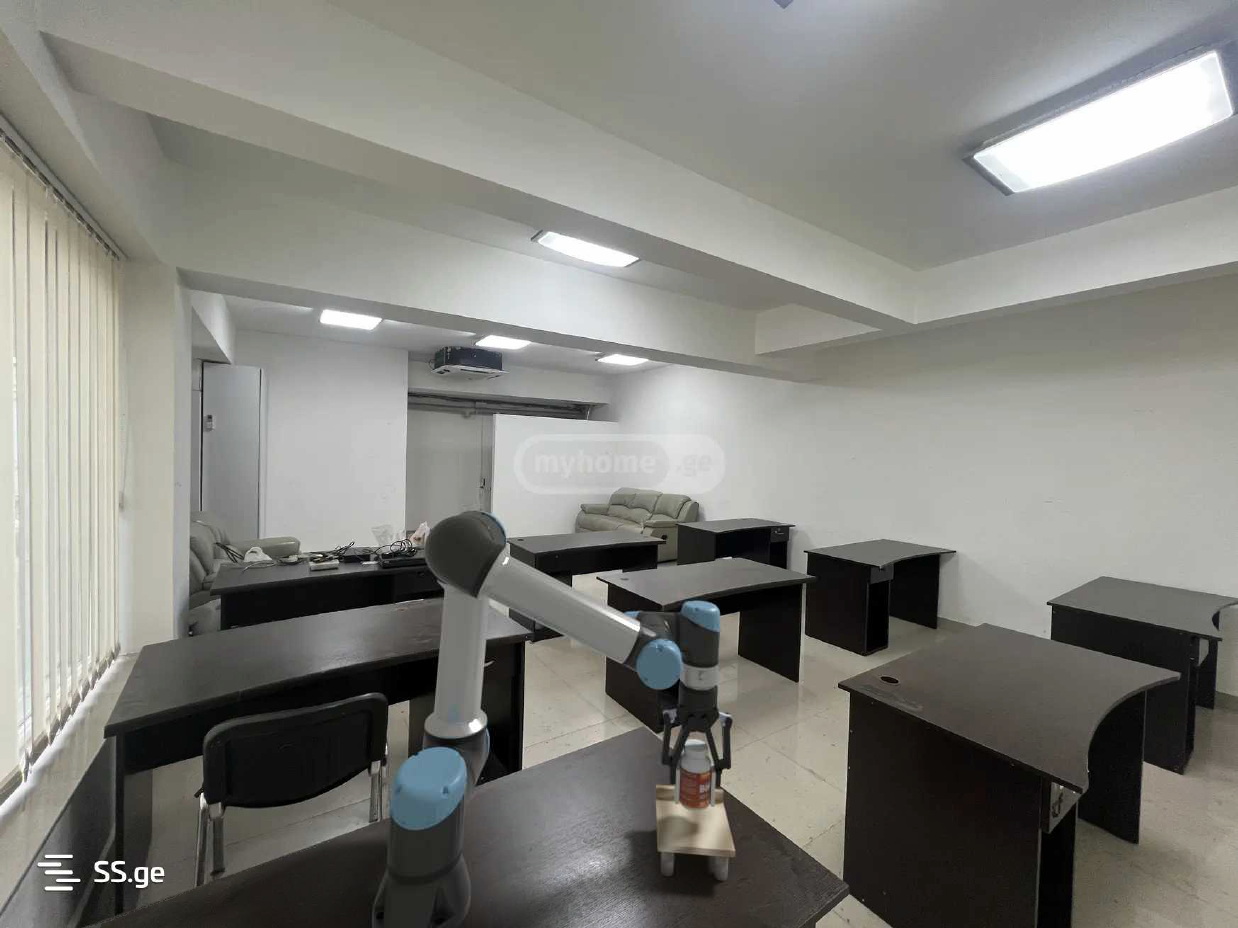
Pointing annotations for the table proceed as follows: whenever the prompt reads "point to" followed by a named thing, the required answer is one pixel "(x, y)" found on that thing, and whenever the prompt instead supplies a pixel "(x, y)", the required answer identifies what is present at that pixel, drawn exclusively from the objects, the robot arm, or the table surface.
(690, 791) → the pill bottle
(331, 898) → the table surface
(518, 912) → the table surface
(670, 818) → the beige small table
